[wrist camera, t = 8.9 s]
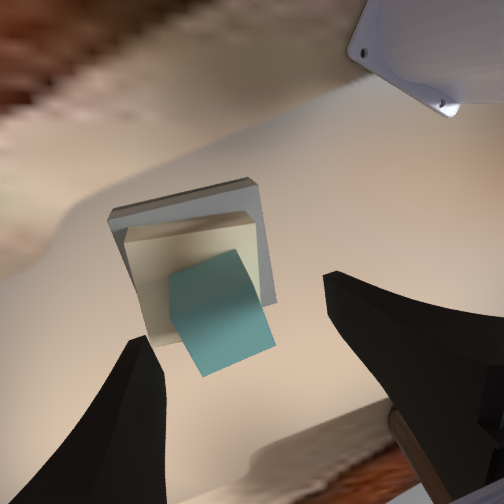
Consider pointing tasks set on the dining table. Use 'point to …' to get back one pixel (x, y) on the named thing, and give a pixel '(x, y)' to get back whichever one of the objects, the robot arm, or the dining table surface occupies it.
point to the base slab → (197, 205)
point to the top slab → (183, 260)
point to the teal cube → (218, 313)
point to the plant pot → (418, 459)
